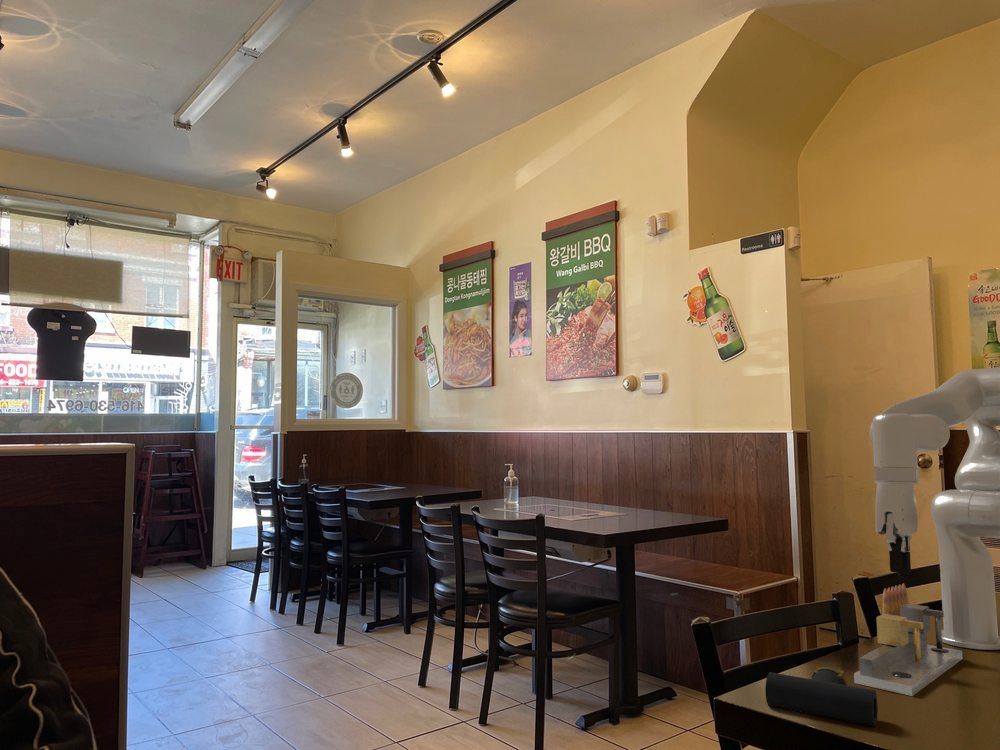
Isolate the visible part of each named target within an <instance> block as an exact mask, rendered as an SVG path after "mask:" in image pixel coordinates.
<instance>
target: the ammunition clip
mask: <svg viewBox="0 0 1000 750" xmlns="http://www.w3.org/2000/svg"><path fill="white" fill-rule="evenodd" d="M905 604H910V603H909V597H908V591H907V587H906V584H905V583H904V582H903V583H902V585H901V584H898V585H895V586H894V585H893V586H891V587H888V588H884V589H883V593H882V610H881V611H882V612H881V613H882V614H889V615H895V616H900V606H902V605H905ZM882 614H881V615H882ZM883 645H884V644H882V643H881V646H883Z"/></svg>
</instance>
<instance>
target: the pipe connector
mask: <svg viewBox="0 0 1000 750" xmlns="http://www.w3.org/2000/svg"><path fill="white" fill-rule="evenodd" d="M845 677H846V676H845V670H840V669H835V668H832V667H829V666H828V667H827V666H816V668H815V669H814V671H813V673H812V676H811V678H806V677H800V676H794V675H790V674H789V675H788V674H782V673H777V672H772V671H769V672H768V673H767V675H766V681H765V694H764V695H765V701H766V704H767V706H769V705H771V706H770V707H774V706H775V708H779V707H780V709H784V708H785V710H789V709H790V710H789V711H794V710H796V711H795V712H799V711H801V712H800V713H804V712H805V713H806V714H809V713H810V714H809V715H814V714H815V716H820V717H825V718H829V717H830V719H834V718H835V720H839V719H840V720H839V721H844V720H845V722H850V723H856V724H860V725H865V726H870V727H876V725H877V722H878V695H877V692H876V690H875V689H870V688H863V687H858V686H852V685H848V682H847V680H846V679H845Z"/></svg>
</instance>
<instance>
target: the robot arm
mask: <svg viewBox="0 0 1000 750" xmlns="http://www.w3.org/2000/svg"><path fill="white" fill-rule="evenodd" d="M962 423H964V424H965V428H966V429H965V430H966V431H967V435H968V438H969V439H968V440H969V444H968V447H967V449H966V452H965V454H964V456H963V457H962V460H961V461H960V464H959V466H958V467H957V469H956V472H955V476H954V485H955V488H956V489H946V490H943V491H940V492H938V493H937V494H935V495H934V496H933V498H932V500H931V504H930V513H931V515H930V516H931V519H932V522H933V526H934V529H935V534H936V539H937V545H938V554H939V555H938V556H939V557H938V558H939V560H938V561H939V570H940V571H939V574H940V587H941V590H940V591H941V604H942V605H941V606H942V607H941V609H942V611H944V617H943V618H942V621H943V629H941V630H942V643H944V644H947V645H951V646H955V647H958V648H965V649H971V650H980V651H982V650H984V651H998V650H1000V635H999V630H998V617H997V614H998V613H997V602H996V601H997V600H996V589H995V588H996V587H995V586H996V585H995V573H994V560H993V556H992V554H991V553H990V551H989V549H988V548H987V546H986V545H985V544H984V542H983V541H982V540H981V539H980V538H990V539H991V538H992V539H1000V431H999V430H998V428H997V427H1000V366H998V367H986V368H985V367H984V368H974V369H966V370H962V371H960V372H958V373H956V374H954V375H953V376H952V377H950V378H949V379H947V380H946V381H945V382H944V383H942V384H941V385H940V386H938V387H937V388H936V389H934V390H933V391H930V392H926V393H924V394H920V395H918V396H916V397H913V398H909V399H907V400H904V401H900V402H898V403H895V404H894V405H891V406H889V407H887V408H885V410H883V411H882V412H880V413H879V414H877V415H875V416H874V417H873V419H872V422H871V424H870V428H869V438H870V441H871V443H872V444H873V445H872V446H873V447H872V448H873V451H872V453H873V468H874V469H873V470H874V475H873V476H874V484H876V490H875V511H874V512H875V513H874V514H875V519H874V520H875V521H874V522H875V523H874V525H875V526H874V527H875V532H876V533H877V535H880V536H881V535H885V541H886V542H887V543H888V544H887V546H888V552H889V555H888V556H889V571H890V572H891V573H897V574H899V573H900V574H906V575H907V574H910V573H911V572H912V567H911V566H912V565H911V562H912V561H911V540H912V535H914V534H916V533H918V510H917V508H918V507H917V499H916V491H915V486H917V485H918V486H919V484H920V483H919V470H918V469H919V468H918V467H919V466H918V463H919V462H918V452H921V453H922V452H929V453H930V452H936V451H940V450H942V449H943V448H944V447H946V445H947V444H948V443H949V440H950V436H951V434H950V433H951V432H950V428H951V427H955V426H958V425H961V424H962Z"/></svg>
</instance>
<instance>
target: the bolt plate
mask: <svg viewBox="0 0 1000 750" xmlns="http://www.w3.org/2000/svg"><path fill="white" fill-rule="evenodd" d="M927 634H928V633H925V634H920V647H921V663H917V662H915V653H914V636H913V632H908V639H909V643H908V644H906V645H904V646H902V647H899V646H893V645H888V644H884V645H883V646H882V645H881V646H879V647H877V648H875V649H873V650H872V651H869V652H868V653H866V654H864V655H862V656H861V657H859V658H858V659H859V661H858V662H859V670H858V671H856V672H854V673H853V678H854V679H853V680H854V682H853V683H854V684H856V685H862V686H866V687H870V688H875V689H879V690H884V691H888V692H892V693H896V694H901V695H906V696H910V697H913V696H915V695H916V694H917V693H919V692H920V691H921V690H923V689H924V688H925V687H927V686H928V685H930V683H933V682H934V681H935V680H937V679H938V678H939V677H940V676H942V675H944V673H946V672H947V671H948V670H950V669H951V668H953V667H954V666H956V665H957V664H958V663H959V662H961V661H962V660H963V658H964V657H963V650H961V649H955V648H949V647H943V649H938V648H937V646H936V645H933V644H928V637H927V636H928V635H927Z"/></svg>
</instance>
